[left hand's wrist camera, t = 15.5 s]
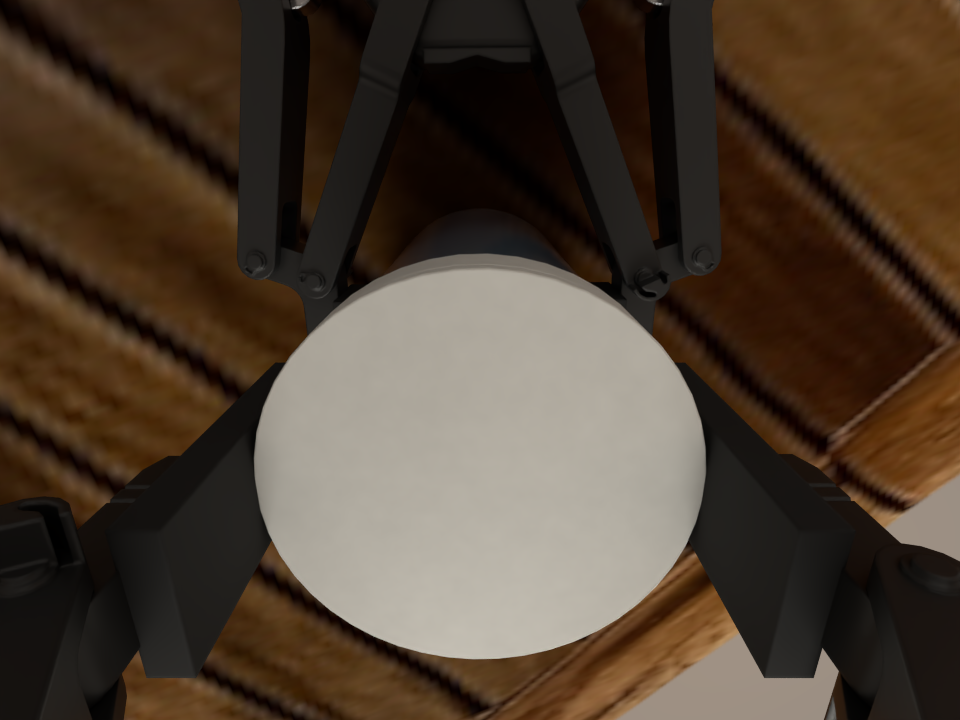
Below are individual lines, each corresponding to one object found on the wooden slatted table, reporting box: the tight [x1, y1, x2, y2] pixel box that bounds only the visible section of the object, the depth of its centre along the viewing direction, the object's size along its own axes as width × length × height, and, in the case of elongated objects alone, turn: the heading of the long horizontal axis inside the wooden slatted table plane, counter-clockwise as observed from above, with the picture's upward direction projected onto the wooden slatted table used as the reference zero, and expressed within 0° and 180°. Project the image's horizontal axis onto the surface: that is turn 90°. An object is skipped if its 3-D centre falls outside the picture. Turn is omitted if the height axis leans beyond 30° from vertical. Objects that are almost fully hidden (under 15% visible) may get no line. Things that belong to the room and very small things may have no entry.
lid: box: [254, 254, 706, 659], centre depth 11 cm, size 9×9×2 cm
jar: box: [381, 208, 579, 277], centre depth 18 cm, size 8×8×15 cm
